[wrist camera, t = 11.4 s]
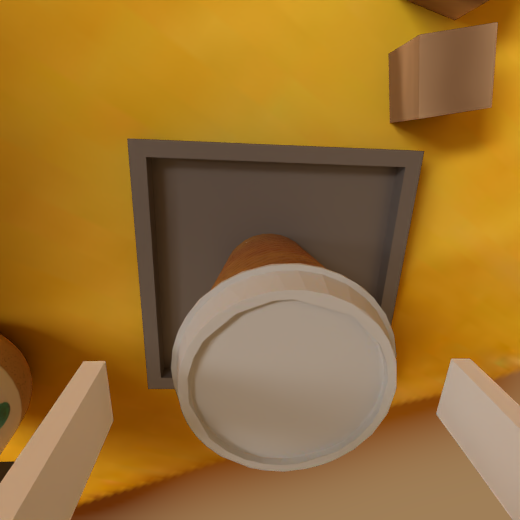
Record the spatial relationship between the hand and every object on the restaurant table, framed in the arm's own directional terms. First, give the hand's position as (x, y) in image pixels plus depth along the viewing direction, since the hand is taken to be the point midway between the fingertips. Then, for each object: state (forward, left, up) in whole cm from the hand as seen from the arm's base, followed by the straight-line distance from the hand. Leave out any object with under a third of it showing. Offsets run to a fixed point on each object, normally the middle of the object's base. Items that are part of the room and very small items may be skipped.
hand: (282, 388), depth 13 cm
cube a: (+9, +13, -13) cm, 21 cm away
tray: (0, 0, -13) cm, 13 cm away
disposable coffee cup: (0, 0, -12) cm, 12 cm away
